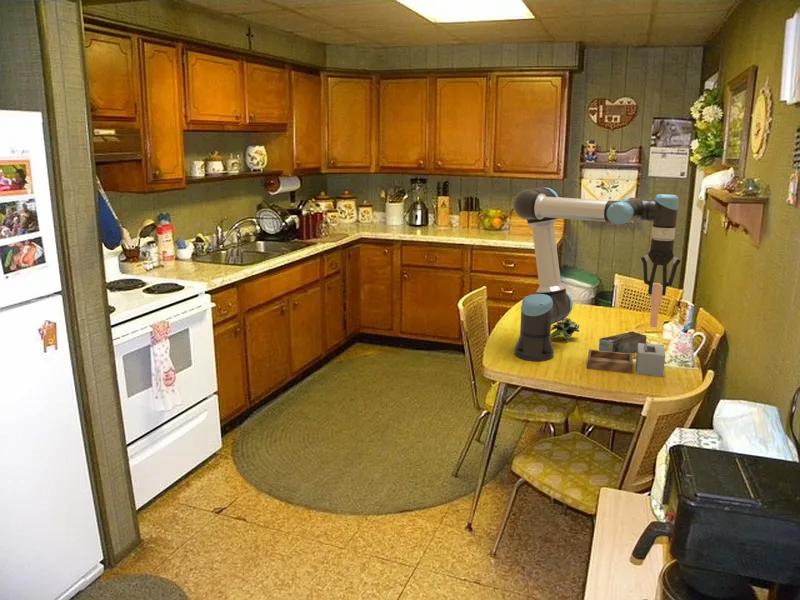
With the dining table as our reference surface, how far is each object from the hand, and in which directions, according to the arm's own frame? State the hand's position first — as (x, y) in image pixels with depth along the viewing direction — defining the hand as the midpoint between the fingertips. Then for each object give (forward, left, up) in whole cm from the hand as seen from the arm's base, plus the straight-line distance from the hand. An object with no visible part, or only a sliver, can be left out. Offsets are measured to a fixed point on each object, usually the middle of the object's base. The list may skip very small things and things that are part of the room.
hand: (655, 303), depth 233 cm
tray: (-14, 0, -25) cm, 29 cm away
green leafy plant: (-32, +26, -26) cm, 49 cm away
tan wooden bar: (0, 0, -8) cm, 8 cm away
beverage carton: (-9, +19, -26) cm, 34 cm away
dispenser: (0, 0, -25) cm, 25 cm away
